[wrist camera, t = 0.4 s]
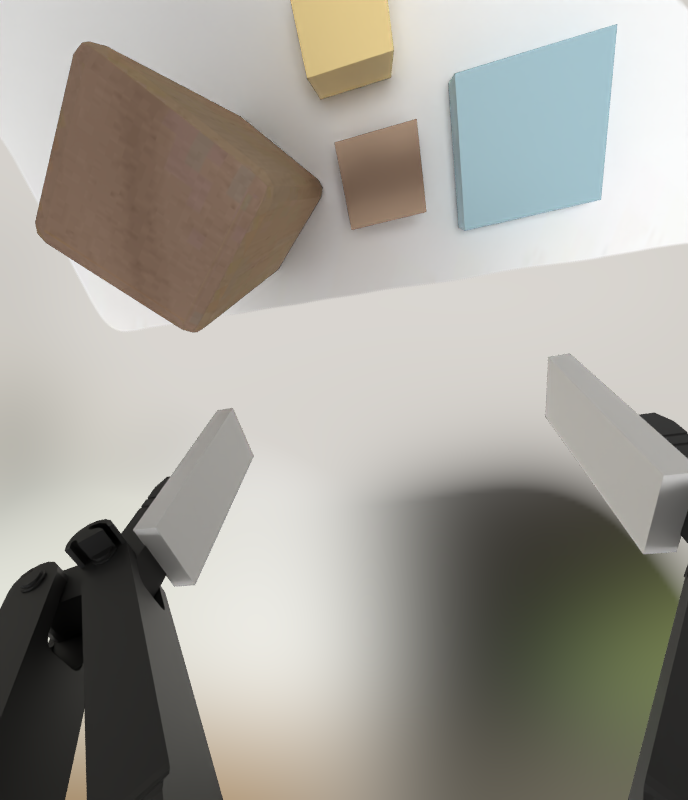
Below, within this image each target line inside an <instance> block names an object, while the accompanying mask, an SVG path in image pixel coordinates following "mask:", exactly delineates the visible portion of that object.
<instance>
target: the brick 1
mask: <svg viewBox="0 0 688 800" xmlns="http://www.w3.org/2000/svg"><path fill="white" fill-rule="evenodd" d="M291 5H292V10H293V15H294V19H295V24H296V29H297V33H298V38H299V43H300V47H301V52H302V57H303V62H304V66H305V71H306V76H307V79H308V81H309V82H310V84H311V85H312V87H313V88H314V90H315V91H316V93H317V94H318V96H319V98H320V99H324V98H327V97H330V96H334V95H337V94H340V93H343V92H346V91H350V90H353V89H356V88H359V87H362V86H365V85H369V84H372V83H375V82H378V81H381V80H385V79H388V78H391V71H392V61H393V52H394V48H393V40H392V32H391V24H390V16H389V8H388V0H291Z"/></svg>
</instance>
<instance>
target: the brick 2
mask: <svg viewBox="0 0 688 800" xmlns="http://www.w3.org/2000/svg"><path fill="white" fill-rule="evenodd" d="M335 148H336V153H337V159H338V164H339V169H340V174H341V179H342V184H343V189H344V194H345V199H346V204H347V209H348V214H349V219H350V224H351V229H352V230H354V229H358V228H362V227H366V226H370V225H374V224H378V223H383V222H387V221H391V220H395V219H399V218H403V217H407V216H412V215H416V214H420V213H424V212H426V202H425V193H424V184H423V175H422V165H421V156H420V147H419V137H418V128H417V119H414V120H411V121H407V122H404V123H400V124H397V125H394V126H390V127H387V128H383V129H380V130H376V131H373V132H369V133H366V134H362V135H359V136H355V137H352V138H349V139H345V140H342V141H338V142H335Z"/></svg>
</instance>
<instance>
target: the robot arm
mask: <svg viewBox="0 0 688 800" xmlns="http://www.w3.org/2000/svg"><path fill="white" fill-rule="evenodd" d="M545 417H546V418H547V420H548V421H549V422H550V424H551V425H552V427H553V428H554V430H555V431H556V432H557V434H558V435H559V437H560V438H561V439H562V441H563V442H564V443H565V445H566V446H567V448H568V449H569V450H570V452H571V453H572V455H573V456H574V457H575V459H576V460H577V462H578V463H579V465H580V466H581V467H582V469H583V470H584V471H585V473H586V474H587V476H588V477H589V479H590V480H591V481H592V483H593V484H594V486H595V487H596V488H597V490H598V491H599V493H600V494H601V495H602V497H603V498H604V500H605V501H606V503H607V504H608V505H609V507H610V508H611V509H612V511H613V512H614V514H615V515H616V517H617V518H618V519H619V521H620V522H621V524H622V525H623V526H624V528H625V529H626V531H627V532H628V533H629V535H630V536H631V538H632V539H633V540H634V542H635V543H636V545H637V546H638V547H639V549H640V550H641V552H642V553H643V554H652V553H653V554H654V553H667V552H676V551H677V548H678V545H679V542H680V539H681V536H682V537H683V538H684V539H685V541H686V542H687V543H688V434H687V432H686V431H685V430H684V429H683V428H682V427H680V426H679V425H678V424H676V423H675V422H674V421H672V420H670V419H668V418H665V417H663V416H660V415H658V414H656V413H649V414H641V415H638V414H637V413H636V412H635V411H634V410H633V409H632V408H630V407H629V406H628V405H627V404H626V403H625V402H624V401H623V400H621V399H620V398H619V397H618V396H617V395H616V394H615V393H614V392H612V391H611V390H610V389H609V388H608V387H607V386H606V385H605V384H604V383H602V382H601V381H600V380H599V379H598V378H597V377H596V376H594V375H593V374H592V373H591V372H590V371H589V370H588V369H587V368H586V367H584V366H583V365H582V364H581V363H580V362H579V361H578V360H577V359H575V358H574V357H573V356H572V355H571V354H564V355H558V356H551V357H548V373H547V395H546V415H545ZM253 457H254V455H253V453H252V451H251V448H250V446H249V444H248V442H247V439H246V437H245V435H244V433H243V430H242V428H241V426H240V423H239V421H238V419H237V416H236V414H235V412H234V410H233V408H230V409H223V410H218V411H217V412H216V413H215V415H214V416H213V417H212V419H211V420H210V422H209V423H208V424H207V426H206V427H205V428H204V430H203V431H202V433H201V434H200V436H199V437H198V438H197V440H196V441H195V443H194V444H193V445H192V447H191V448H190V450H189V451H188V453H187V454H186V456H185V457H184V458H183V460H182V461H181V462H180V464H179V465H178V467H177V468H176V470H175V471H174V473H173V474H172V475H171V476H170V477H166V478H165V479H164V480H163V481H162V482H161V483H160V484H158V485H157V486H156V487H155V489H154V490H153V491H152V492H151V494H150V495H149V497H148V500H146V501H145V502H144V503H143V505H142V508H140V509H139V510H138V512H137V513H136V514H135V516H134V517H133V519H132V520H131V521H130V523H129V524H128V525H127V527H126V528H125V529H124V531H123V532H122V533H120V532H119V531H118V529H117V528H116V527H115V525H114V524H113V523H112V522H111V520H107V519H104V520H99V521H96V522H94V523H91V524H89V525H87V526H86V527H84V528H83V529H81V530H80V531H79V532H77V533H76V534H75V535H74V536H73V537H72V538H71V539H70V541H69V542H68V544H67V545H66V548H65V551H66V553H67V554H68V555H69V556H70V557H71V558H72V559H73V560H74V562H76V564H77V565H78V566H75V567H72V568H69V569H67V570H64V571H63V570H62V569H61V568H60V567H59V566H58V565H57V564H56V563H55V562H46V563H43V564H40V565H38V566H37V567H35V568H32V569H31V570H29V571H28V572H27V573H25V574H24V575H22V576H21V578H20V579H18V581H16V582H15V583H14V585H13V586H12V588H11V589H10V591H9V592H8V594H7V596H6V598H5V600H4V602H3V604H2V606H1V608H0V800H65V797H66V792H67V788H68V783H69V778H70V774H71V769H72V764H73V760H74V754H75V750H76V745H77V741H78V736H79V732H80V727H81V722H82V718H83V713H84V708H85V745H86V782H87V800H223V798H222V795H221V791H220V787H219V784H218V780H217V776H216V773H215V770H214V766H213V762H212V758H211V755H210V751H209V748H208V744H207V741H206V737H205V733H204V730H203V726H202V723H201V719H200V716H199V712H198V709H197V705H196V701H195V698H194V695H193V690H192V687H191V683H190V680H189V677H188V673H187V669H186V665H185V662H184V658H183V655H182V651H181V648H180V644H179V640H178V637H177V633H176V630H175V626H174V623H173V619H172V615H171V612H170V608H169V605H168V601H167V598H166V594H165V592H164V590H163V589H162V587H161V584H162V582H163V580H164V578H165V576H167V577H168V579H169V580H170V581H171V583H172V584H173V586H187V585H195V584H196V582H197V579H198V577H199V575H200V573H201V571H202V568H203V566H204V564H205V562H206V560H207V557H208V555H209V553H210V551H211V548H212V546H213V544H214V542H215V540H216V538H217V536H218V533H219V531H220V529H221V527H222V524H223V522H224V520H225V518H226V516H227V513H228V511H229V509H230V507H231V505H232V503H233V500H234V498H235V496H236V494H237V492H238V490H239V487H240V485H241V483H242V480H243V479H244V476H245V474H246V472H247V470H248V468H249V465H250V463H251V461H252V459H253ZM684 577H685V580H684V584H683V588H682V593H681V596H680V600H679V604H678V608H677V612H676V616H675V619H674V623H673V627H672V631H671V635H670V639H669V643H668V647H667V651H666V654H665V658H664V662H663V666H662V670H661V674H660V678H659V681H658V685H657V689H656V693H655V697H654V701H653V705H652V709H651V712H650V716H649V721H648V724H647V728H646V732H645V736H644V740H643V744H642V747H641V751H640V755H639V759H638V763H637V767H636V771H635V775H634V779H633V783H632V787H631V790H630V794H629V798H628V800H688V566H687V568H686V571H685V574H684ZM48 637H49V638H50V640H49V643H48Z"/></svg>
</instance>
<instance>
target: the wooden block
mask: <svg viewBox="0 0 688 800" xmlns="http://www.w3.org/2000/svg"><path fill="white" fill-rule="evenodd" d="M321 194H322V186H321V184H320V182H319V180H318V179H317V178H316V177H314V176H313V175H312V174H311V173H309V172H308V171H307V170H306V169H304V168H303V167H302V166H301V165H300V164H298V163H297V162H296V161H295V160H293V159H292V158H291V157H290V156H288V155H287V154H286V153H285V152H284V151H282V150H281V149H280V148H279V147H277V146H276V145H275V144H274V143H272V142H271V141H270V140H269V139H268V138H266V137H265V136H264V135H263V134H261V133H260V132H259V131H258V130H256V129H255V128H254V127H253V126H252V125H250V124H249V123H248V122H247V121H245V120H244V119H243V118H242V117H240V116H238V115H237V114H235V113H233V112H231V111H229V110H227V109H225V108H223V107H221V106H219V105H217V104H216V103H214V102H212V101H210V100H208V99H206V98H204V97H202V96H200V95H198V94H196V93H195V92H193V91H191V90H189V89H187V88H185V87H183V86H181V85H179V84H177V83H176V82H174V81H172V80H170V79H168V78H166V77H164V76H162V75H160V74H158V73H156V72H155V71H153V70H151V69H149V68H147V67H145V66H143V65H141V64H139V63H137V62H136V61H134V60H132V59H130V58H128V57H126V56H124V55H122V54H120V53H118V52H116V51H115V50H113V49H111V48H109V47H107V46H104V45H100V44H96V43H93V42H83V43H81V45H80V46H79V47H78V49H77V50H76V52H75V53H74V54H73V59H72V63H71V67H70V72H69V76H68V81H67V85H66V89H65V94H64V98H63V102H62V107H61V111H60V116H59V120H58V124H57V129H56V133H55V138H54V142H53V146H52V151H51V155H50V159H49V164H48V168H47V173H46V177H45V181H44V186H43V190H42V195H41V199H40V203H39V208H38V212H37V217H36V221H35V224H36V229H37V233H38V235H39V236H40V237H41V238H42V239H43V240H44V241H45V242H46V243H47V244H49V245H50V246H52V247H53V248H55V249H56V250H58V251H60V252H61V253H63V254H64V255H66V256H67V257H69V258H71V259H72V260H74V261H75V262H77V263H78V264H80V265H82V266H83V267H85V268H86V269H88V270H89V271H91V272H93V273H94V274H96V275H97V276H99V277H100V278H102V279H104V280H105V281H107V282H108V283H110V284H111V285H113V286H115V287H116V288H118V289H119V290H121V291H122V292H124V293H126V294H127V295H129V296H130V297H132V298H133V299H135V300H137V301H138V302H140V303H141V304H143V305H144V306H146V307H148V308H149V309H151V310H152V311H154V312H155V313H157V314H159V315H160V316H162V317H163V318H165V319H166V320H168V321H170V322H171V323H173V324H174V325H176V326H178V327H179V328H181V329H183V330H186V331H190V332H198V331H200V330H201V329H203V328H204V327H206V326H207V325H208V324H209V323H211V322H212V321H213V320H215V319H216V318H217V317H219V316H220V315H221V314H222V313H224V312H225V311H226V310H227V309H229V308H230V307H231V306H233V305H234V304H235V303H236V302H238V301H239V300H240V299H241V298H243V297H244V296H245V295H246V294H248V293H249V292H250V291H252V290H253V289H254V288H255V287H257V286H258V285H259V284H260V283H262V282H263V281H264V280H265V279H267V278H268V277H269V276H271V275H272V274H273V273H274V272H276V271H277V270H278V269H279V267H280V265H281V264H282V262H283V260H284V259H285V257H286V255H287V254H288V252H289V250H290V248H291V247H292V245H293V243H294V242H295V240H296V238H297V237H298V235H299V233H300V232H301V230H302V228H303V226H304V225H305V223H306V221H307V220H308V218H309V216H310V215H311V213H312V211H313V210H314V208H315V206H316V205H317V203H318V201H319V199H320V198H321Z"/></svg>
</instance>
